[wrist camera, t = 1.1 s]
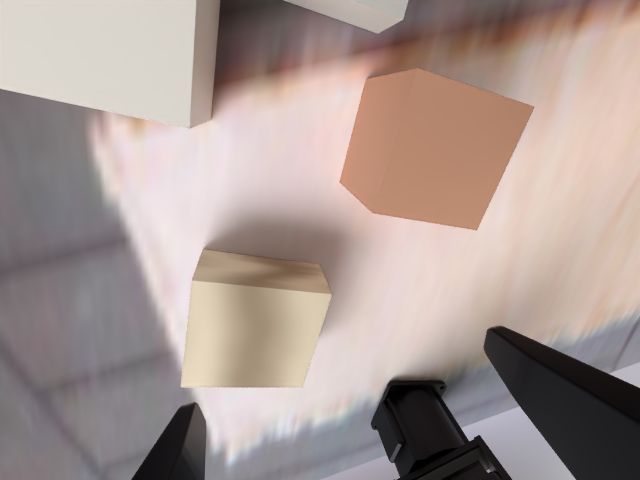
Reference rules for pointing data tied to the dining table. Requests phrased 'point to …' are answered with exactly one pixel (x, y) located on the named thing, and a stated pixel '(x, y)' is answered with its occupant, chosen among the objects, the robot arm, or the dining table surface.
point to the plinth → (359, 11)
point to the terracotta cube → (430, 147)
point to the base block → (252, 321)
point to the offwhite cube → (114, 55)
